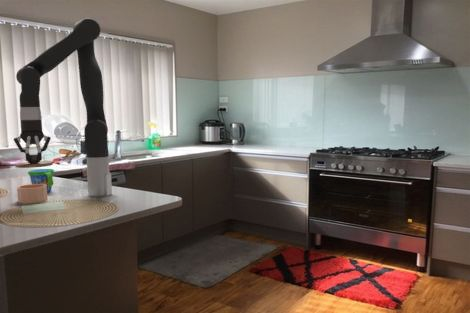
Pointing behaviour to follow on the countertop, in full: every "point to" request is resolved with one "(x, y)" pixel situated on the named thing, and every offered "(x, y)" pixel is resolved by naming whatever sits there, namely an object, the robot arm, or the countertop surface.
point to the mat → (43, 207)
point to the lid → (33, 163)
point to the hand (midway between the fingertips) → (34, 162)
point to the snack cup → (42, 177)
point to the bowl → (32, 193)
